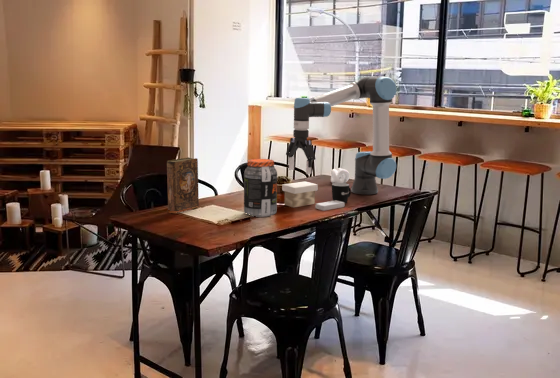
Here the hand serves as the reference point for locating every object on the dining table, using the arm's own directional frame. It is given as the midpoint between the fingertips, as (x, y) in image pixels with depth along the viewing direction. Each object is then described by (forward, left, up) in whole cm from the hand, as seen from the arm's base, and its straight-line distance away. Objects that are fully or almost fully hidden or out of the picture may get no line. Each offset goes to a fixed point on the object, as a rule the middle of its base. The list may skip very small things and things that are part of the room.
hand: (299, 171), depth 288 cm
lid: (0, 0, -10) cm, 10 cm away
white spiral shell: (-57, -32, -18) cm, 68 cm away
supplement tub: (+26, +2, -18) cm, 31 cm away
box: (0, 0, -18) cm, 18 cm away
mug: (-22, +8, -18) cm, 30 cm away
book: (+53, -25, -18) cm, 61 cm away
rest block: (-8, +14, -18) cm, 24 cm away
